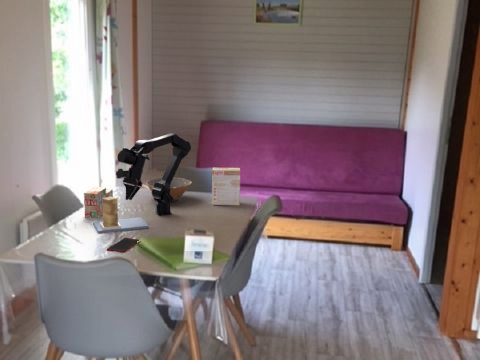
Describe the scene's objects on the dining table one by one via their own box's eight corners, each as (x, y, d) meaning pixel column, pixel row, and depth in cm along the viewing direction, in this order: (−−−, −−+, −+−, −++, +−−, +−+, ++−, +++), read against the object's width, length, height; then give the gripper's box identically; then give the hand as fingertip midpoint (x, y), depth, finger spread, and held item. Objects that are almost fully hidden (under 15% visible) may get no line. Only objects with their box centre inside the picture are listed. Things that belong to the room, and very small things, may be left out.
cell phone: (106, 251, 189) (106, 248, 188) (124, 239, 202) (124, 237, 202) (123, 253, 187) (123, 251, 186) (141, 241, 200) (141, 239, 200)
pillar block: (111, 224, 217) (110, 196, 214) (118, 226, 214) (117, 198, 212) (103, 226, 213) (102, 198, 211) (110, 228, 211) (109, 200, 208)
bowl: (174, 191, 285) (174, 175, 283) (200, 200, 268) (200, 182, 266) (137, 197, 269) (137, 180, 267) (162, 207, 251) (162, 188, 249)
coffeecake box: (239, 202, 266) (240, 167, 262) (239, 205, 259) (240, 170, 255) (212, 201, 266) (212, 167, 262) (211, 205, 259) (212, 169, 255)
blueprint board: (140, 219, 230) (140, 214, 229) (148, 227, 217) (148, 223, 217) (93, 224, 220) (92, 219, 220) (98, 233, 208) (98, 228, 208)
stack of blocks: (101, 205, 251) (101, 182, 248) (113, 206, 250) (112, 183, 248) (84, 217, 230) (83, 192, 228) (97, 218, 230) (96, 193, 227)
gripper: (123, 164, 232) (115, 195, 231) (116, 161, 214) (107, 195, 213) (146, 170, 233) (137, 201, 232) (140, 167, 214) (131, 201, 213)
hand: (128, 199), depth 222 cm, fingers open, 9 cm apart
